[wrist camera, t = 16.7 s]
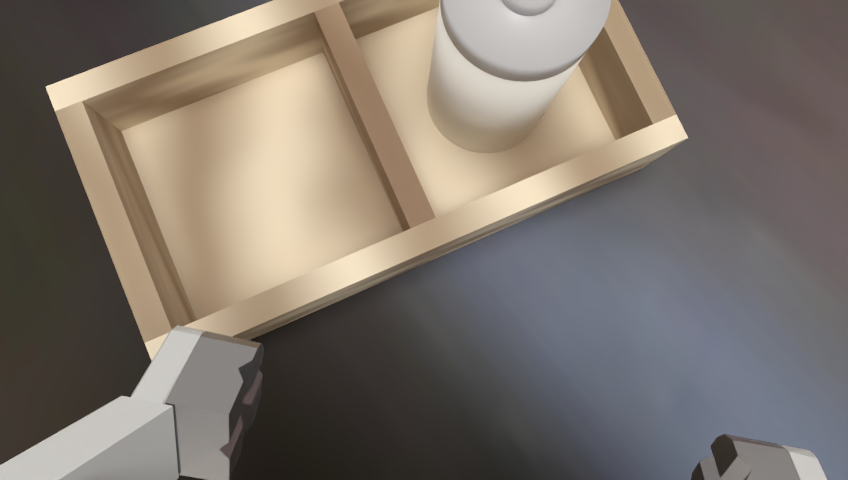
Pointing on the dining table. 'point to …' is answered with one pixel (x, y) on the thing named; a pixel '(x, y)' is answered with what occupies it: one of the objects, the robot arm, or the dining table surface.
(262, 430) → the dining table surface
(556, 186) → the trough rack
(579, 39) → the lidded jar
